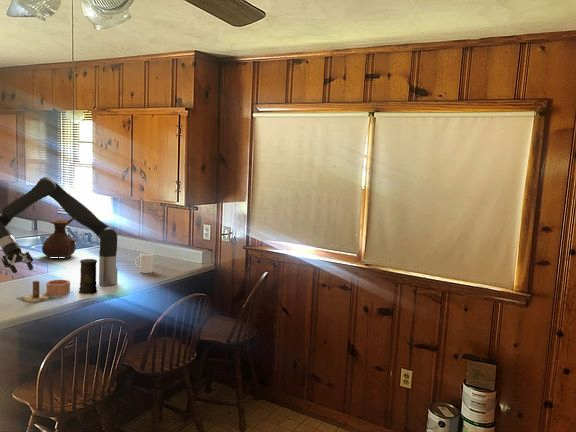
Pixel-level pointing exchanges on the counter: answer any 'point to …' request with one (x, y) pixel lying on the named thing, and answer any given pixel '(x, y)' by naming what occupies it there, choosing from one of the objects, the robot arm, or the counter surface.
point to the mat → (37, 302)
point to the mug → (145, 262)
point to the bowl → (58, 287)
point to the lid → (35, 294)
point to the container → (88, 276)
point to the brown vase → (59, 241)
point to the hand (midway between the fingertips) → (23, 270)
